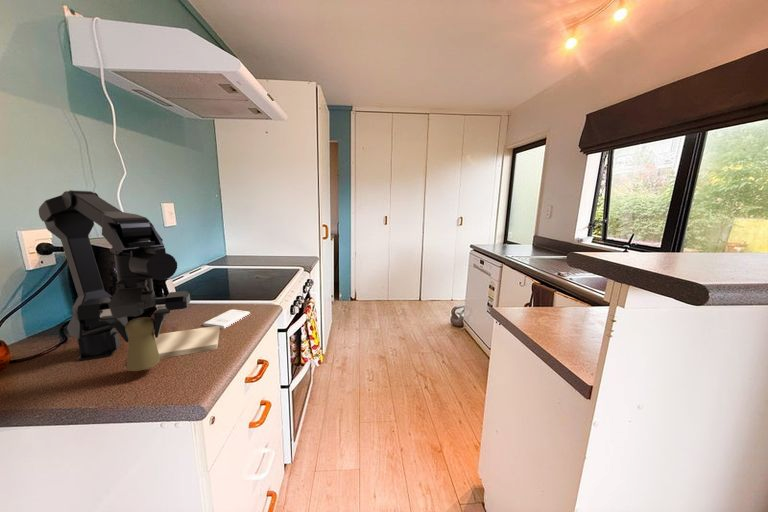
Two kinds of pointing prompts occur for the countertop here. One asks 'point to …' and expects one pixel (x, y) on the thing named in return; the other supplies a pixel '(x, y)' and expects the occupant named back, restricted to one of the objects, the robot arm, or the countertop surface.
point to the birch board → (187, 341)
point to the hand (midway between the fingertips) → (142, 339)
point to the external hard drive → (226, 318)
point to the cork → (141, 344)
